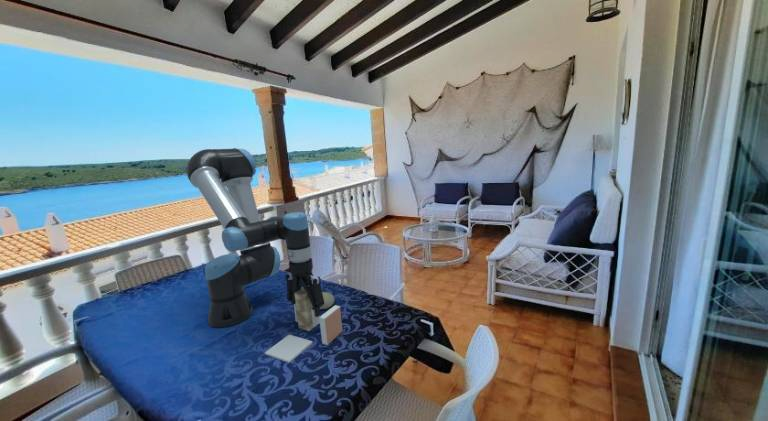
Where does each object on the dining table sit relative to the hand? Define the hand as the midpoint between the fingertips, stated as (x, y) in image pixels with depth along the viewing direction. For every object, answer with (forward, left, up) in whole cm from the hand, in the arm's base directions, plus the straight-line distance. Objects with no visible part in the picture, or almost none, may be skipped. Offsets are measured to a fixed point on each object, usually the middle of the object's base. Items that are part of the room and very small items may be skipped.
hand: (307, 322), depth 103 cm
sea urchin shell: (-5, +14, -2) cm, 15 cm away
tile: (+12, -2, -2) cm, 12 cm away
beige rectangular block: (0, 0, -2) cm, 2 cm away
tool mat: (+3, -12, -2) cm, 12 cm away
